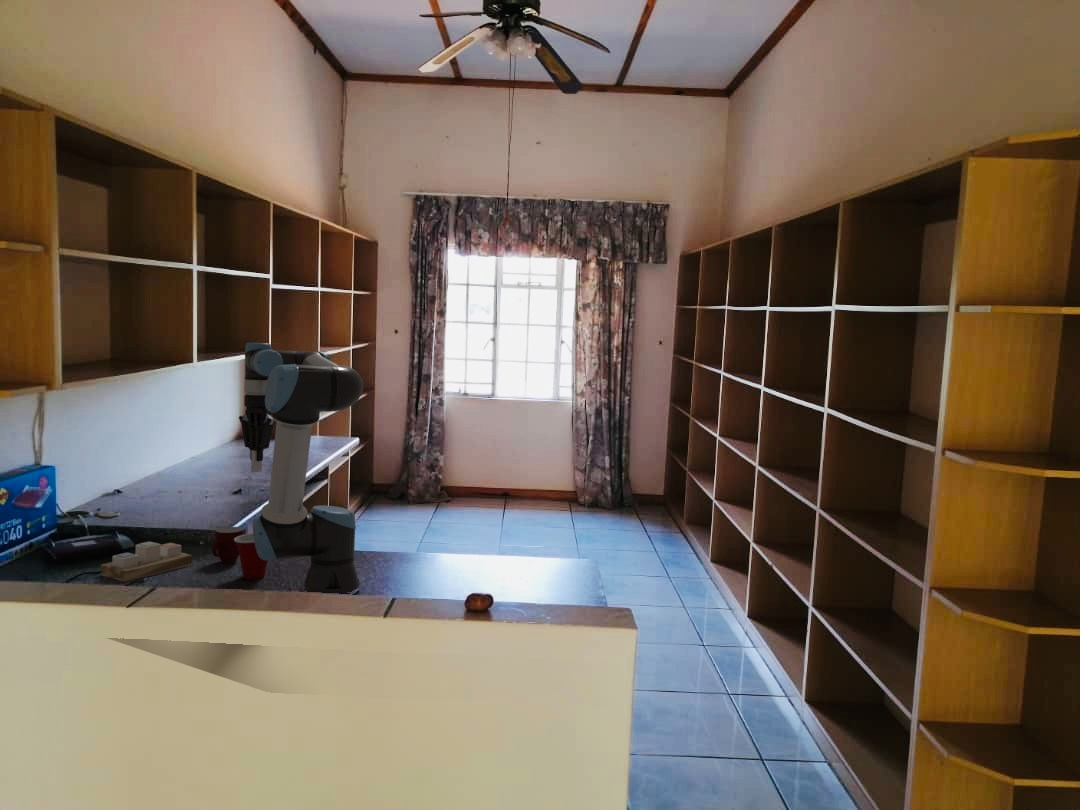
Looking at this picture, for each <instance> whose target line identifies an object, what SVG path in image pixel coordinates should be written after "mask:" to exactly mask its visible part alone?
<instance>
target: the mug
mask: <svg viewBox="0 0 1080 810" xmlns="http://www.w3.org/2000/svg"><path fill="white" fill-rule="evenodd" d="M214 532H215V533H214V539H215V541H214V543H213V544H212V548H211V552H212V555H213V556H214V557H216V558H219V560H220V561H221V563H222V564H234V563H236V562H237V560H238V559H239V558H240V556H239V550H238V547H237V544H236V542H235V541H234V539H235V538H236V537H238V536H241V535H245V534H244V528H243V527H240V526H222V527H219V528H216V529H215V531H214Z"/></svg>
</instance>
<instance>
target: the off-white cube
mask: <svg viewBox="0 0 1080 810" xmlns="http://www.w3.org/2000/svg"><path fill="white" fill-rule="evenodd" d="M111 559H112V567H116V568H120V569H125V568H129V567H133V566H137V565H138V555H136V553H131V552H123V553H119V554H115V555H112V558H111Z"/></svg>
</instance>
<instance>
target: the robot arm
mask: <svg viewBox="0 0 1080 810" xmlns="http://www.w3.org/2000/svg"><path fill="white" fill-rule="evenodd" d="M244 348H245V351H244V388H243V390H244V393H245V395H244V400H243V401H244V402H243V405H244V407H246V409H245V412H244V414H243V415H239V416H238V420H239V422H240V424H241V429H242V436H243V442H244V447H245V448H247V449H248V450H249V459H250V461H251V462H250V465H251V466H250V473H259V472H262V462H263V460H264V450H266V449H269V447H270V443H271V439H272V434H273V428H274V424H275V423H276V425H275V426H276V427H275V436H274V443H273V445H274V446H273V456H272V464H271V473H270V481H269V482H270V484H269V492H268V493H269V494H268V503H266V504H265V505H264V506H263V507H262V508H261V511H260V515H256V516H254V517H253V519H252V533H253V536H254V542H255V547H256V551H257V554H258V556H259V557H260V558H261V559H262V560H268V561H273V560H275V561H278V560H287V559H297V558H304V557H310V562H309V563H310V564H309V567H308V569H307V572H306V575H305V576H306V577H305V580H304V581H303V584H302V585H303V587H302V592H303V591H307V592H322V593H339V594H350V593H347V592H352V591H353V590H355V589H357V588H358V587H359V586H361V583H360V582H361V581H360V579H359V578H358V572H357V568H356V565H355V543H356V542H355V538H356V535H355V534H356V529H357V527H356V515H355V514H354V511H352V510H350V509H348V508H344V507H340V506H333V505H313V507H312V508H311V509H310V512H308V510H307V508H306V507H305V505H304V504H303V503H304V495H305V488H306V481H307V480H306V478H307V471H308V470H307V469H308V461H309V454H310V447H311V446H310V445H311V437H312V428H313V426H314V425H315V424H317V423H318V422H319V421H320V417H321V416H320V414H321V413H325V412H326V413H327V412H330V413H331V412H339V411H342V410H347V409H348V408H350V407H352V406H353V405H354V404H355V403H357V402H358V401H359V400H360V398H361V396H362V395H363V391H364V381H363V379H362V376H361V375H360V373H359V372H358V371H357V370H355V369H354V368H352V367H350V366H347V365H343V364H341V365H338V364H337V363H335V362H333V361H332V359H331V356H330V354H329V353H328V352H326V351H325V352H324V351H320V350H317V351H308V350H307V351H304V350H299V351H298V350H282V349H281V350H280V349H279V350H278V349H273V348H272V344H270V343H267V342H266V343H264V342H247V343H245V347H244Z"/></svg>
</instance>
